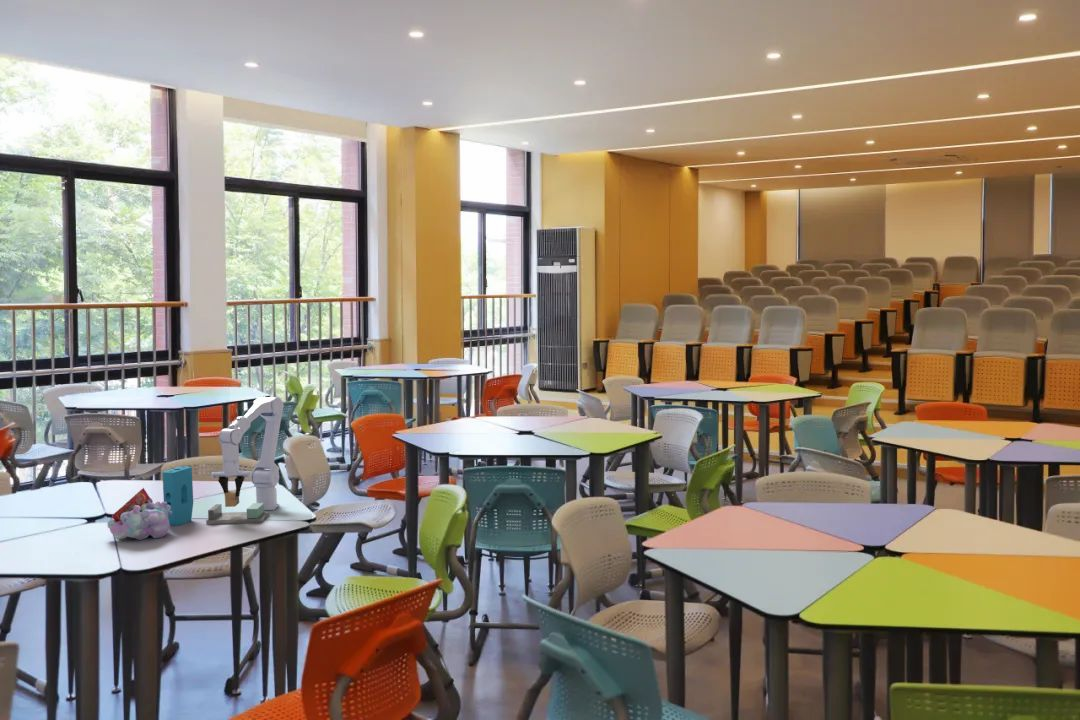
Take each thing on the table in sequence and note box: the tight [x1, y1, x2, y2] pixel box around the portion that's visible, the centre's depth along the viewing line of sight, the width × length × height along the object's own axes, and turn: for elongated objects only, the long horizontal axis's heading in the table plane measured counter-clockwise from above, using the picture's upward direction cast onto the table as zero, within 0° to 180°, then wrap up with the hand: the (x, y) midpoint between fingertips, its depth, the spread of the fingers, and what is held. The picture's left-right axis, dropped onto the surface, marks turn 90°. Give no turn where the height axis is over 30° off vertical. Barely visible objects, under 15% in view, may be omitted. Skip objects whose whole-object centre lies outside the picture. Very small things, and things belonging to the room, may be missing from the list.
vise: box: [205, 503, 270, 525], centre depth 347 cm, size 12×20×5 cm, turn 93°
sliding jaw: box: [246, 502, 265, 518], centre depth 347 cm, size 10×4×3 cm, turn 3°
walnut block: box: [224, 489, 240, 508], centre depth 346 cm, size 6×4×5 cm, turn 3°
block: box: [162, 466, 194, 527], centre depth 343 cm, size 12×5×20 cm, turn 167°
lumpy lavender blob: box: [107, 487, 172, 541], centre depth 323 cm, size 20×22×18 cm
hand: (232, 496), depth 346 cm, fingers closed on walnut block, 3 cm apart
